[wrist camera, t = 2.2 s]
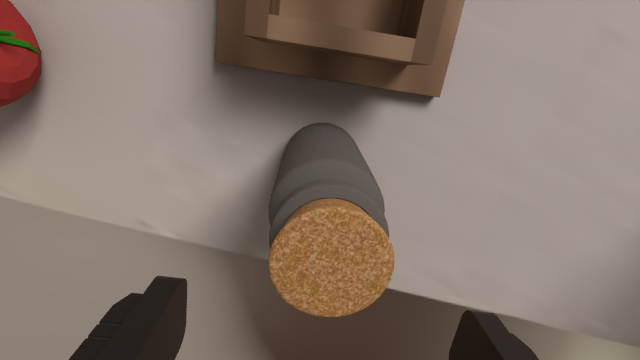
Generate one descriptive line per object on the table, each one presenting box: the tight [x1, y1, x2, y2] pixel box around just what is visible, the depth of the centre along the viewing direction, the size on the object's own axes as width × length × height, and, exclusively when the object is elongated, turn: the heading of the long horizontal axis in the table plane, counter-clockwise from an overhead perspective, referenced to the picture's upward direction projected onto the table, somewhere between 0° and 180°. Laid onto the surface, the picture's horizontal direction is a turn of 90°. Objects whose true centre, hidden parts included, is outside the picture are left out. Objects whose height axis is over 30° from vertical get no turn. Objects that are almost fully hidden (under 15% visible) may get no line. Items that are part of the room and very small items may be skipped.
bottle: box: [268, 123, 394, 317], centre depth 20 cm, size 6×6×15 cm
